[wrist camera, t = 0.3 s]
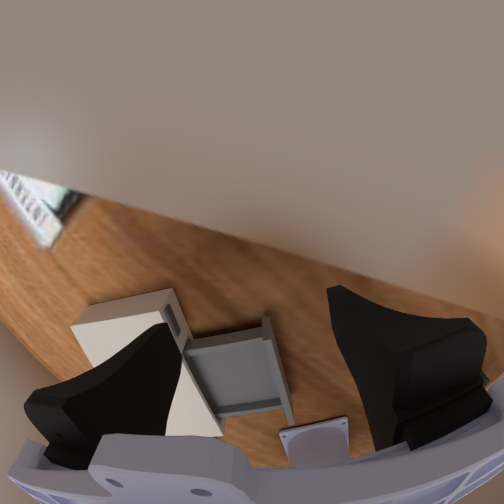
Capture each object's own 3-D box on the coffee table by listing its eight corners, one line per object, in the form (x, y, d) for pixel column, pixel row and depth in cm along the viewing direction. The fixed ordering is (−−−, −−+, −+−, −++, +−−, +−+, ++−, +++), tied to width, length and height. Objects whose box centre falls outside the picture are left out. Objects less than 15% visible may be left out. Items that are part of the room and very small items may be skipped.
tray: (269, 316, 22) (271, 339, 19) (292, 400, 25) (295, 424, 22) (167, 335, 23) (157, 357, 20) (207, 412, 26) (203, 435, 23)
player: (174, 287, 22) (161, 310, 19) (228, 408, 27) (225, 435, 23) (89, 305, 23) (69, 326, 20) (153, 413, 28) (144, 437, 24)
